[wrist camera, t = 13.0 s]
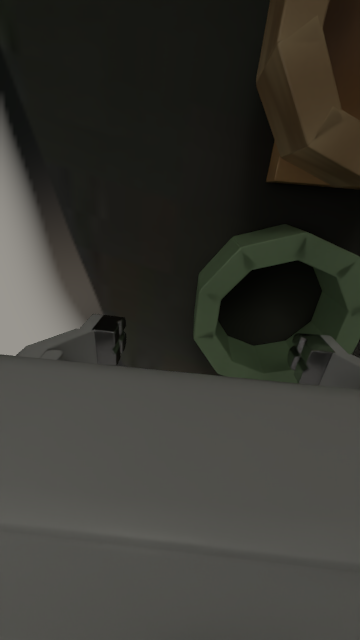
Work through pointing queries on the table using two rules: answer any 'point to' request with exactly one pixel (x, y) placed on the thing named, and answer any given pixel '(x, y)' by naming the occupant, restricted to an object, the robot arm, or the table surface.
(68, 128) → the table surface
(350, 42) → the peg stand
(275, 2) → the birch ring
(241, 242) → the sage ring
